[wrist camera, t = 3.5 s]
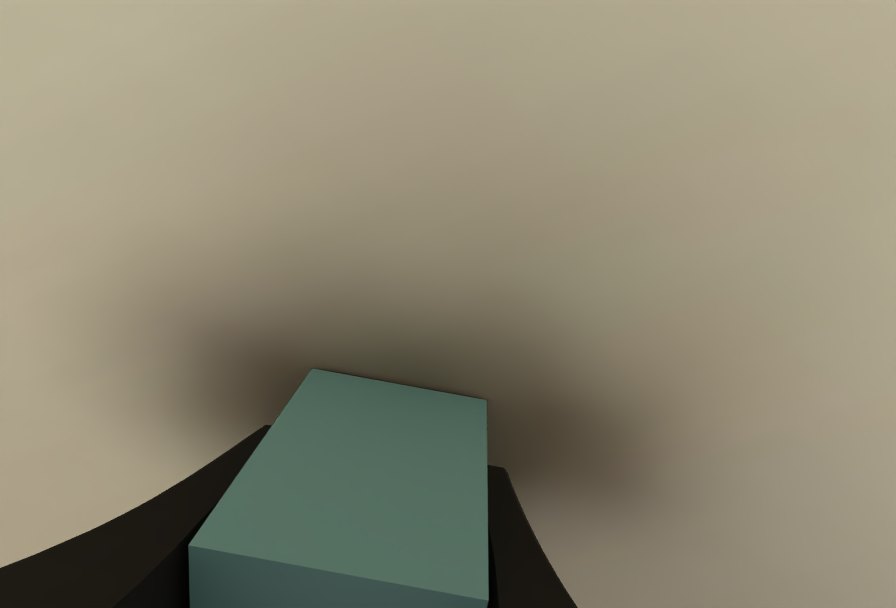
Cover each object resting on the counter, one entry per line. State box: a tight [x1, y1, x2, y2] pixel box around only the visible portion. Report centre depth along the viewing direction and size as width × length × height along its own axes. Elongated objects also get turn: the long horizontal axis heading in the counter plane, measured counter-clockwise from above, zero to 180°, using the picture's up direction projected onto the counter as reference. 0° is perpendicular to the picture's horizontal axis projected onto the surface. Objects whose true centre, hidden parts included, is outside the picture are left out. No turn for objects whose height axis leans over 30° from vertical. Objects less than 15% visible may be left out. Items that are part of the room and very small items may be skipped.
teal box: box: [188, 368, 489, 608], centre depth 11 cm, size 4×5×6 cm
